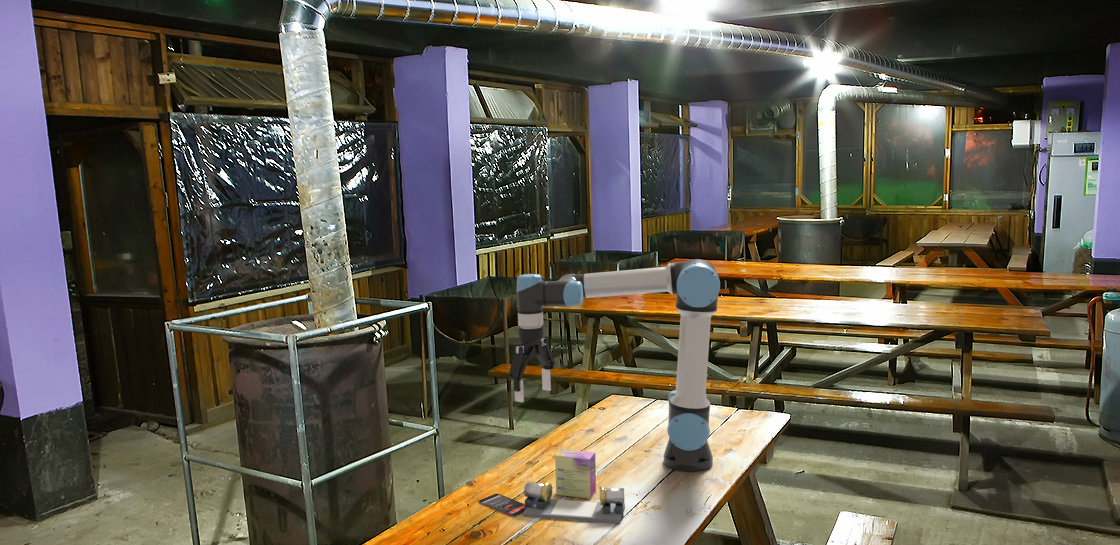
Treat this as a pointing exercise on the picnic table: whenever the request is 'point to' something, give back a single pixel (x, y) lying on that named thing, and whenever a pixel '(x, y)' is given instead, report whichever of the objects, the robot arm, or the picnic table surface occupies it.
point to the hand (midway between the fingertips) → (533, 395)
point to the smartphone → (503, 504)
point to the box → (575, 473)
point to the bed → (575, 511)
